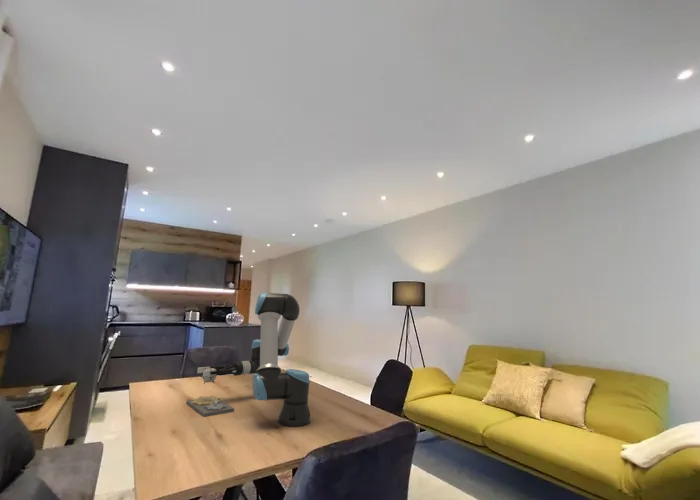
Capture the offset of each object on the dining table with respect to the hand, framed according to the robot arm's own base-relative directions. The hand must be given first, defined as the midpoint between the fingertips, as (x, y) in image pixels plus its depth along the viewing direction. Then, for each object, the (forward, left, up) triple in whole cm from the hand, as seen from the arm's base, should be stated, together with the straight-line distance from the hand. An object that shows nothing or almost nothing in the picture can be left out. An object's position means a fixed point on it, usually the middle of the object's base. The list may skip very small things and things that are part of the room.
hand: (200, 371), depth 177 cm
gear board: (-6, -5, -17) cm, 19 cm away
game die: (-1, -5, -6) cm, 8 cm away
